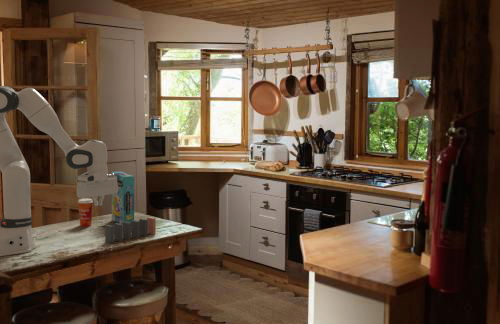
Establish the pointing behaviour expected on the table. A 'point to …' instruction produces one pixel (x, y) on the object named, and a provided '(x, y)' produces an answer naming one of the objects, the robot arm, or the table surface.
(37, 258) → the table surface
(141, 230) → the tile
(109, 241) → the dark grey rectangular block
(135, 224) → the tile
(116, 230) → the tile
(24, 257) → the table surface
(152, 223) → the end tile
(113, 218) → the game box
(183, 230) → the table surface
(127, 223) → the tile
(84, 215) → the paper cup
